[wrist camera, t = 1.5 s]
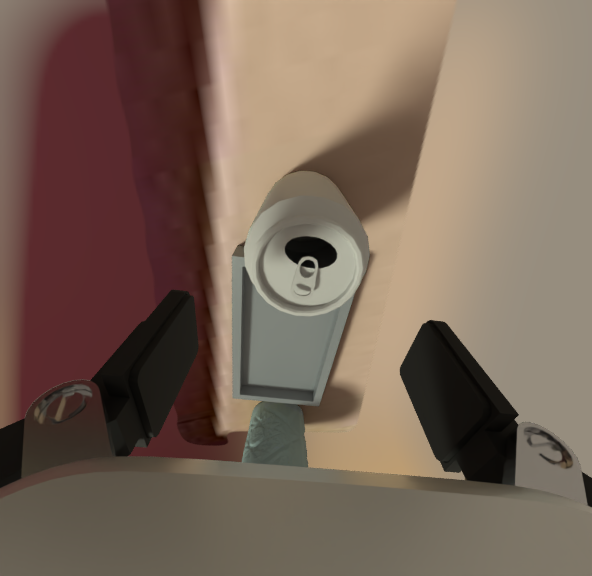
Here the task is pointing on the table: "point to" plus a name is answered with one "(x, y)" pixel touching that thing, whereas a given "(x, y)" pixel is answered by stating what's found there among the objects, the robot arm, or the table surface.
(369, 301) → the table surface
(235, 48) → the table surface
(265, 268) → the can
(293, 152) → the table surface
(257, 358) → the tray
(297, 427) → the green cup
